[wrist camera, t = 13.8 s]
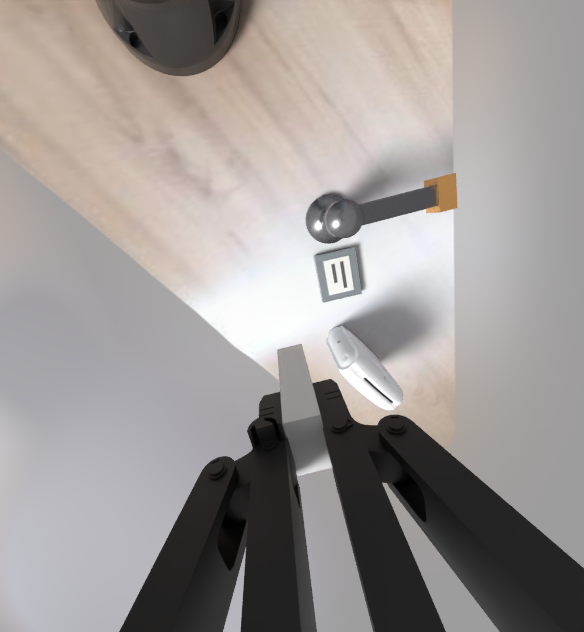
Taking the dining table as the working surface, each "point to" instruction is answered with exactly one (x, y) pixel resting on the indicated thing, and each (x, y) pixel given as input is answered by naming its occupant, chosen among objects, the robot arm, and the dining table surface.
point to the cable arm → (391, 206)
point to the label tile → (338, 274)
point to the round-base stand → (320, 219)
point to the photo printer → (363, 369)
